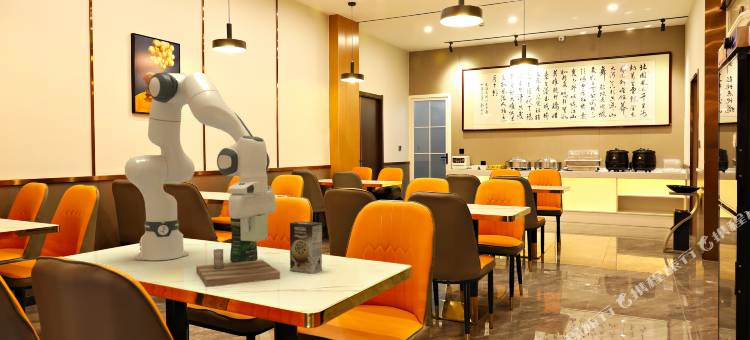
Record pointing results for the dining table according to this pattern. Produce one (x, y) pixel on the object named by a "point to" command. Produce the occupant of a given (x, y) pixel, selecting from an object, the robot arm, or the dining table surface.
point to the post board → (235, 271)
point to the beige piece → (256, 229)
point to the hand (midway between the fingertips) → (254, 229)
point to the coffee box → (305, 247)
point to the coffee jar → (241, 245)
